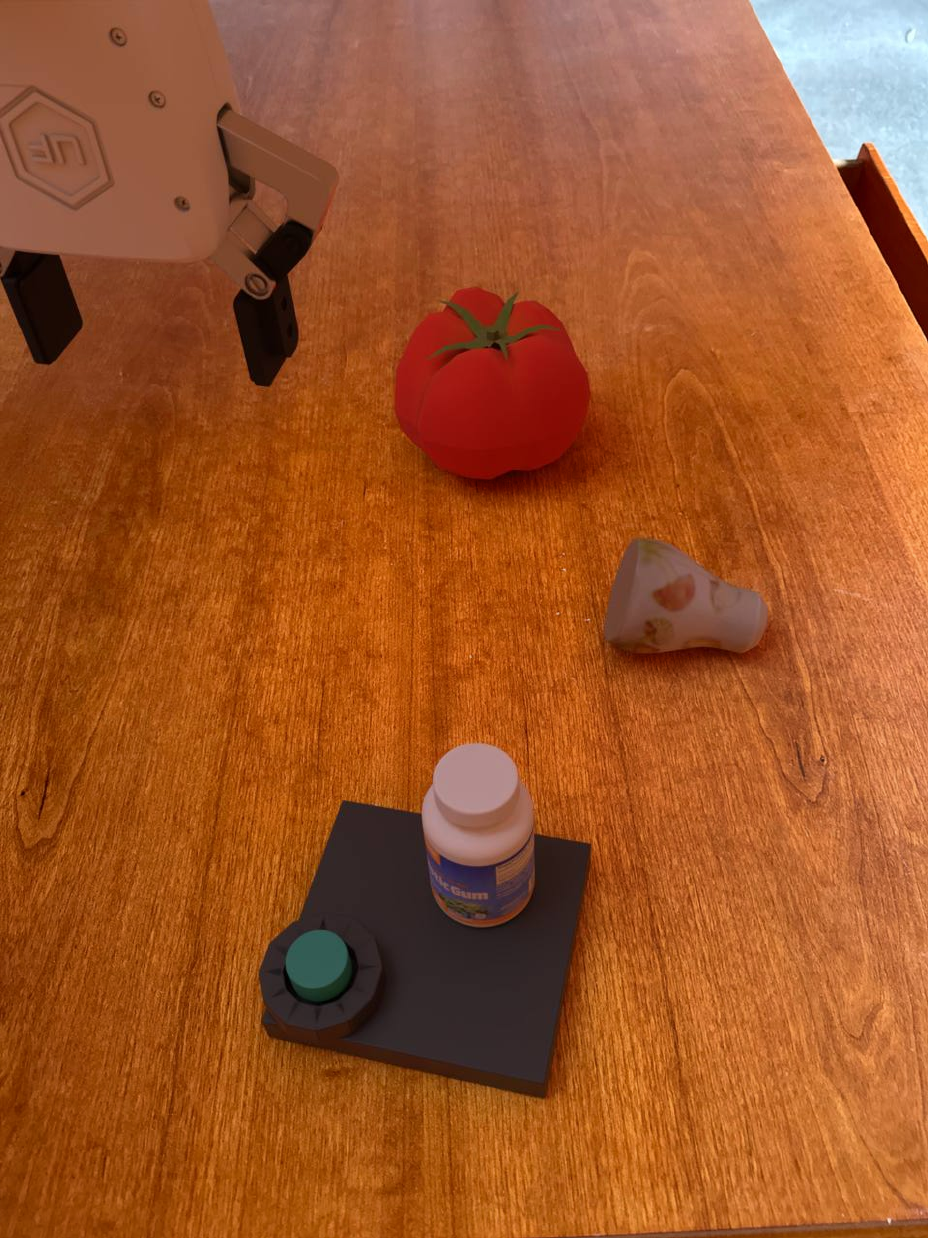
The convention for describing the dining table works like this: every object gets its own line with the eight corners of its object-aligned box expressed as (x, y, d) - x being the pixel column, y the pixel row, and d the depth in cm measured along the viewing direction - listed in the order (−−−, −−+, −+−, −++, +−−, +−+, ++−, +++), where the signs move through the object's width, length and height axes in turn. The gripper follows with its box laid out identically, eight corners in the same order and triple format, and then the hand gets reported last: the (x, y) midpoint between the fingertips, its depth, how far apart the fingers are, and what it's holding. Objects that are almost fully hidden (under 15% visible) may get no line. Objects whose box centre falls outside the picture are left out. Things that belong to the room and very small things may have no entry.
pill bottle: (410, 890, 59) (390, 785, 52) (477, 821, 62) (466, 711, 55) (490, 951, 57) (480, 849, 50) (556, 876, 60) (556, 768, 52)
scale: (256, 1044, 56) (241, 1014, 54) (339, 816, 65) (330, 781, 63) (543, 1109, 53) (542, 1081, 51) (590, 861, 62) (592, 826, 60)
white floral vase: (777, 687, 70) (712, 608, 63) (634, 697, 75) (560, 625, 68) (787, 582, 73) (726, 495, 66) (649, 599, 79) (580, 521, 72)
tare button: (282, 995, 55) (276, 981, 54) (302, 938, 57) (297, 924, 56) (341, 1008, 54) (336, 994, 53) (360, 950, 56) (355, 935, 55)
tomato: (609, 488, 83) (615, 350, 74) (416, 523, 81) (399, 388, 73) (562, 382, 92) (562, 249, 83) (387, 413, 90) (369, 280, 82)
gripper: (-295, -79, 34) (-65, 390, 47) (241, -73, 31) (334, 433, 43) (-149, -152, 39) (24, 291, 52) (328, -154, 36) (389, 322, 48)
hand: (165, 355), depth 47 cm, fingers open, 9 cm apart
